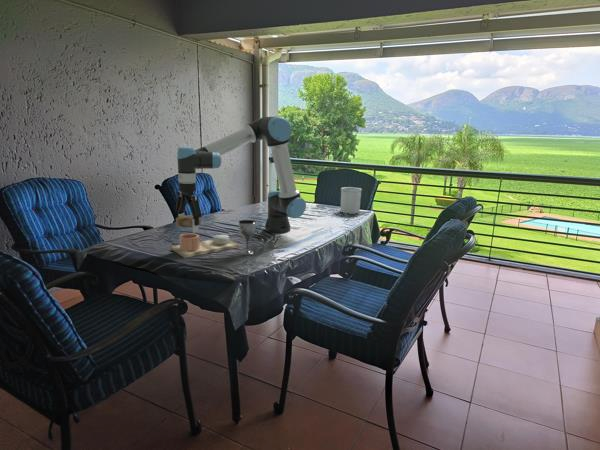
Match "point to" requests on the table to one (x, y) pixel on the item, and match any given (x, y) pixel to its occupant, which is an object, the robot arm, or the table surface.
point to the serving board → (205, 248)
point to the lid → (185, 221)
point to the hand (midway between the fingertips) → (188, 229)
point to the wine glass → (247, 233)
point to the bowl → (189, 242)
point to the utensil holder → (350, 200)
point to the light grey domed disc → (221, 239)
